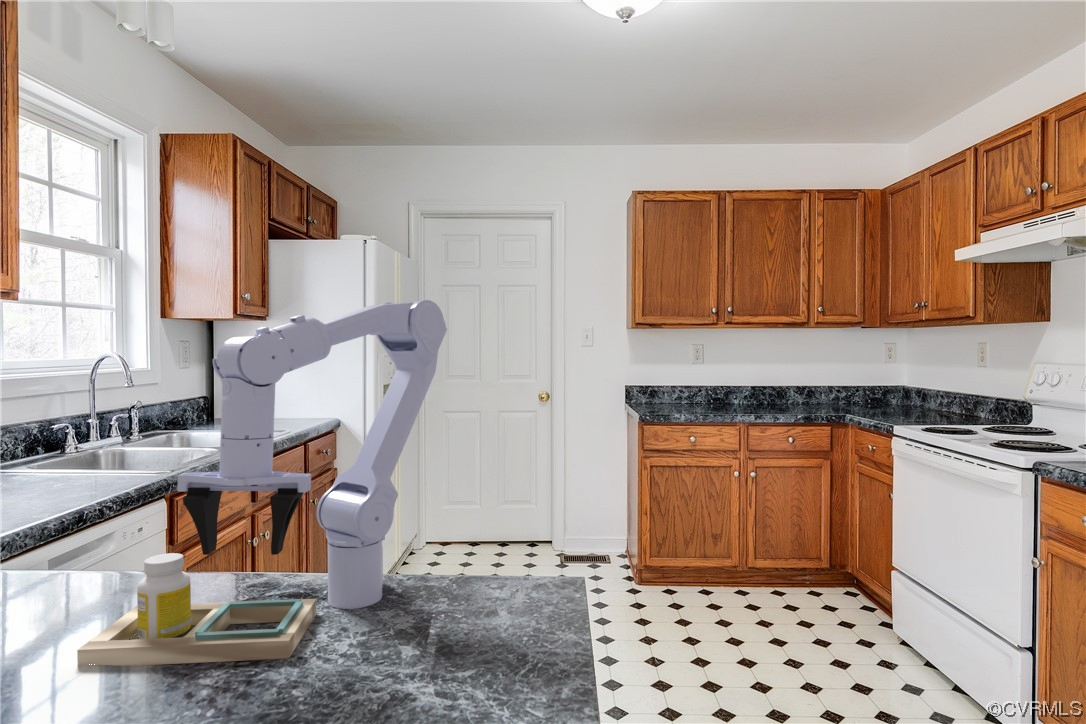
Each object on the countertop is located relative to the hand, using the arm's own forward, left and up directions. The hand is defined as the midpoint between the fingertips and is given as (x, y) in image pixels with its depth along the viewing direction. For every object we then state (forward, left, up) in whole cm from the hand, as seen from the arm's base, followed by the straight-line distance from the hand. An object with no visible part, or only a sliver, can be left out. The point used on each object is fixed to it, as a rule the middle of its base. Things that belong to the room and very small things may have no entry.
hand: (243, 552), depth 75 cm
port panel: (-1, -4, -10) cm, 11 cm away
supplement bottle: (-1, -9, -11) cm, 14 cm away
